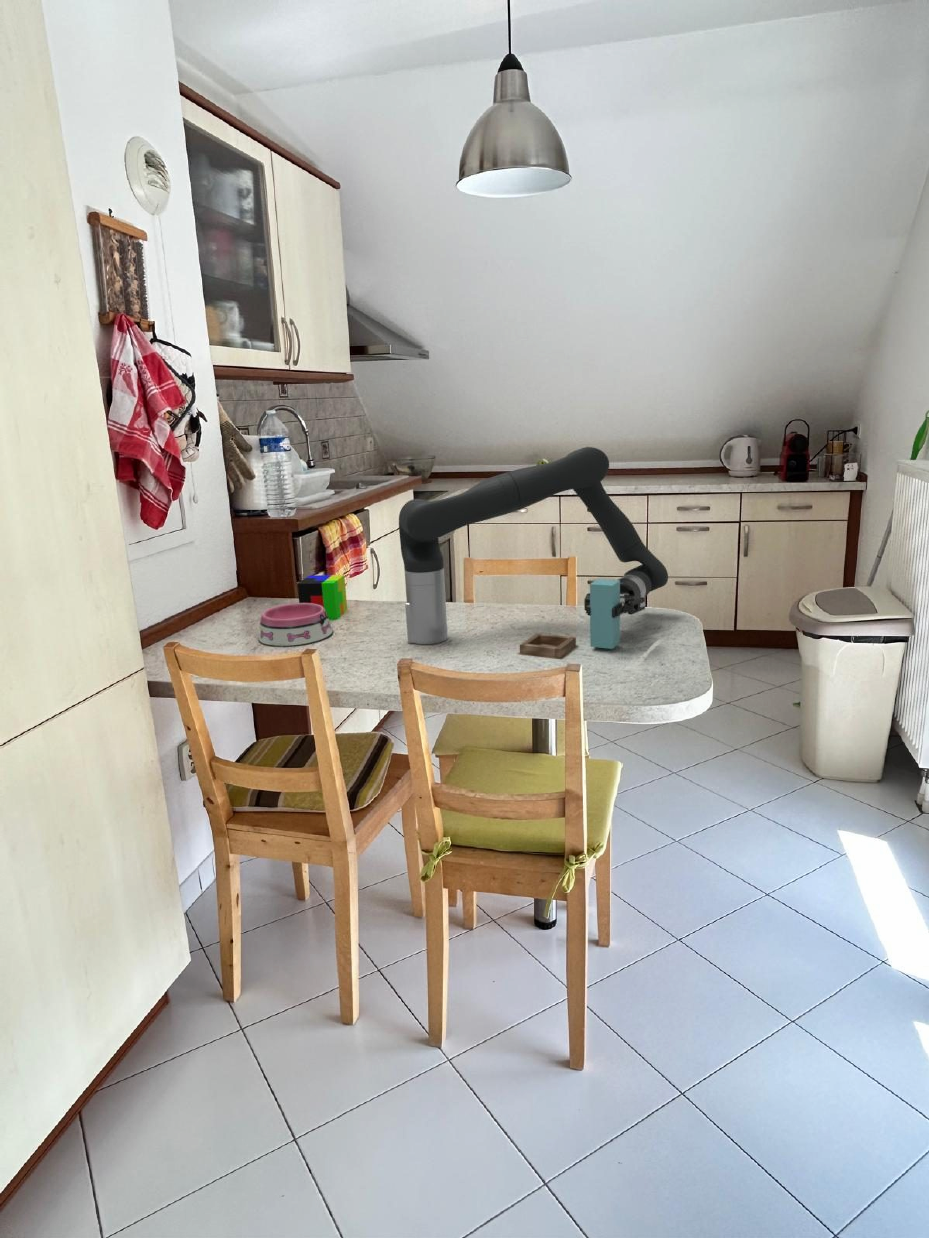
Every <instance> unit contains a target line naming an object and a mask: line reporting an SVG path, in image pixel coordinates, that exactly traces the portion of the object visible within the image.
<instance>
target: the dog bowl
mask: <svg viewBox="0 0 929 1238" xmlns="http://www.w3.org/2000/svg"><path fill="white" fill-rule="evenodd" d="M333 635H334V629H333V627H332V625H331V622H330V620H329V618H328V615H327V613H326V611H325V609H324V607H323V606H321V605H318V604H313V603H299V602H297V603H287V604H281V605H278V606H273V607H270V608H268V609H266V610H264V611H263V612H262V613H261V616H260V621H259V633H258V638H257V641H258V643H259V644H261V645H262V646H267V647H273V648H292V647H293V648H295V647H305V646H309V645H314V644H316V643H317V644H318V643H320V642H324V641H326V640H328V639H330V638H331V637H332V636H333Z"/></svg>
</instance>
